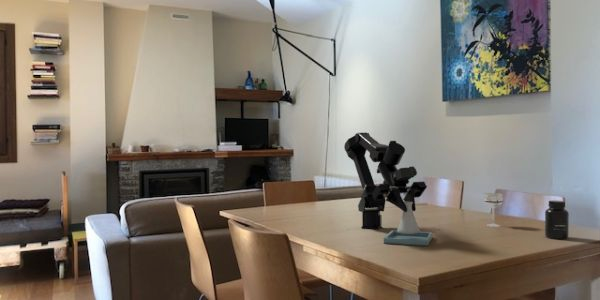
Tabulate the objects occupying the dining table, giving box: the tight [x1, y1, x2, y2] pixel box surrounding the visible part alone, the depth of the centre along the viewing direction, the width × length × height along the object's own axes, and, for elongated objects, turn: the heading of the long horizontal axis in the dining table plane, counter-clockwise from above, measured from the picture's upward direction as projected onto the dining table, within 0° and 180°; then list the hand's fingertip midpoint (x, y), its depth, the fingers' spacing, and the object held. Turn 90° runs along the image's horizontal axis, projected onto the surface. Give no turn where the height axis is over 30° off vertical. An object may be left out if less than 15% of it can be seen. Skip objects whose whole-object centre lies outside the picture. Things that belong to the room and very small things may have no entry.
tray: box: [383, 229, 433, 247], centre depth 153 cm, size 14×14×2 cm
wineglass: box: [483, 192, 504, 228], centre depth 177 cm, size 7×7×12 cm
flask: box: [396, 201, 421, 234], centre depth 153 cm, size 7×7×10 cm
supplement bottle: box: [544, 200, 570, 240], centre depth 154 cm, size 7×7×12 cm
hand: (410, 210), depth 152 cm, fingers closed on flask, 3 cm apart
